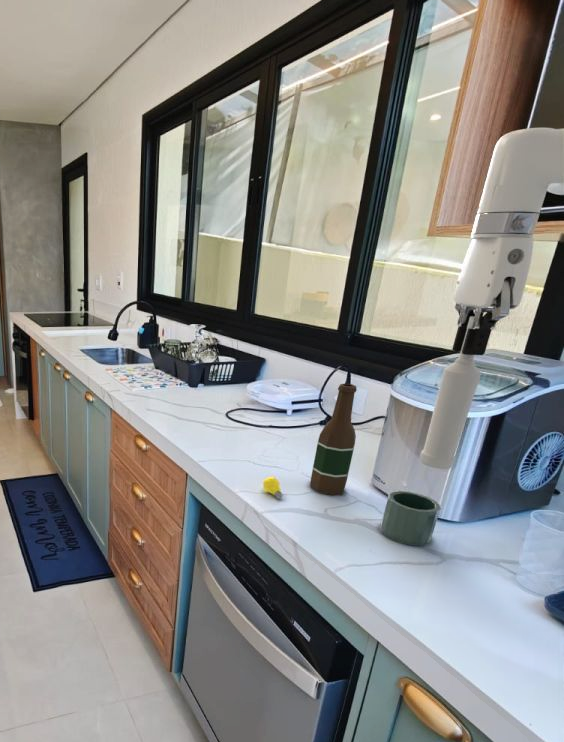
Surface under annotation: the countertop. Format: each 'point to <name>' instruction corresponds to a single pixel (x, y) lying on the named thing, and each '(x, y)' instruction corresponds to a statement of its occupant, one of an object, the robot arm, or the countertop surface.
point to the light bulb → (272, 486)
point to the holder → (410, 518)
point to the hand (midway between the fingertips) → (467, 352)
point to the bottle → (451, 410)
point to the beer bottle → (335, 446)
